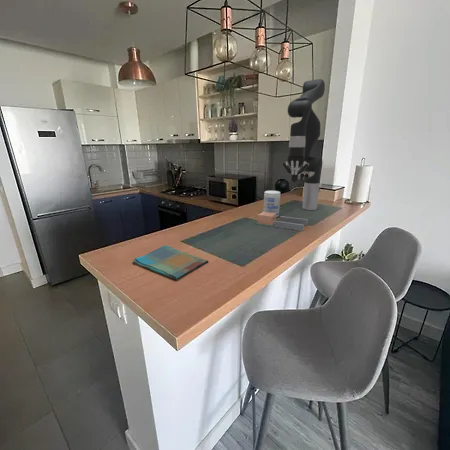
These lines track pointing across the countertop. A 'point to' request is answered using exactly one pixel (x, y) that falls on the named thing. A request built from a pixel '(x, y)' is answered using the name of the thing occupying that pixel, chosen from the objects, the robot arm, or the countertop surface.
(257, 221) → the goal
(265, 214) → the block
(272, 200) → the supplement tub
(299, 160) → the robot arm
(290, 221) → the chute
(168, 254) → the dish towel
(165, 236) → the countertop surface
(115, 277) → the countertop surface
